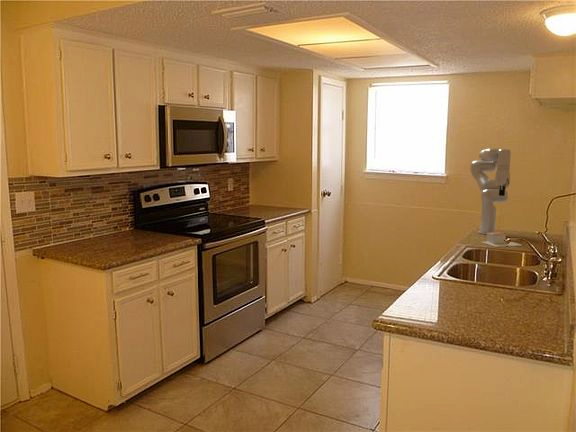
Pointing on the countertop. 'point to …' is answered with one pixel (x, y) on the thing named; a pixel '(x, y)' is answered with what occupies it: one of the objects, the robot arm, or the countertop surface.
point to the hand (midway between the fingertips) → (501, 195)
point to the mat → (502, 244)
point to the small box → (496, 238)
